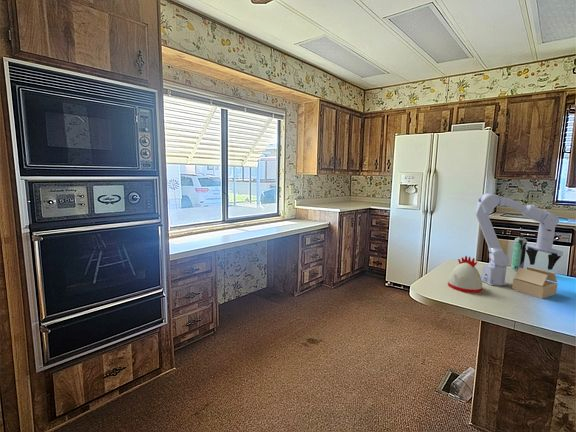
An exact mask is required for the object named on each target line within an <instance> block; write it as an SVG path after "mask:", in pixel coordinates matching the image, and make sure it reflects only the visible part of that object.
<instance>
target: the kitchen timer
mask: <svg viewBox="0 0 576 432" xmlns="http://www.w3.org/2000/svg"><path fill="white" fill-rule="evenodd" d="M457 261H458V265H456V266H455V267H454V268H453V270H452V271H451V272H450V275H449V278H448V280H447V286H448V288H451V289H452V290H456V291H459V292H462V293H463V292H464V293H469V294H479V293H481V292H483V291H482V290H483V281H481V275H480V272H479V270H478V268H477V267H476V265H477V263H478V261H475V257H473V258H472V259H471V256H468V255H465V257H464V256H463V257H461V259H460V258H458V260H457Z"/></svg>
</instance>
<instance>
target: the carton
mask: <svg viewBox="0 0 576 432" xmlns="http://www.w3.org/2000/svg"><path fill="white" fill-rule="evenodd" d="M558 285H559V284H558V282H553V281H549V280H545V282H544V284H543V286H540V285H536V284H533V283H529V282H526V281H523V280H519V279H516V278H514V277H513V279H512V286H511V290H514V291H517V292H520V293H523V294H526V295H529V296H533V297H536V298H539V299H541V300H542V299H545V298H546V299H547V298H549V297H551V296H555V295H557V291H558Z"/></svg>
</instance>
